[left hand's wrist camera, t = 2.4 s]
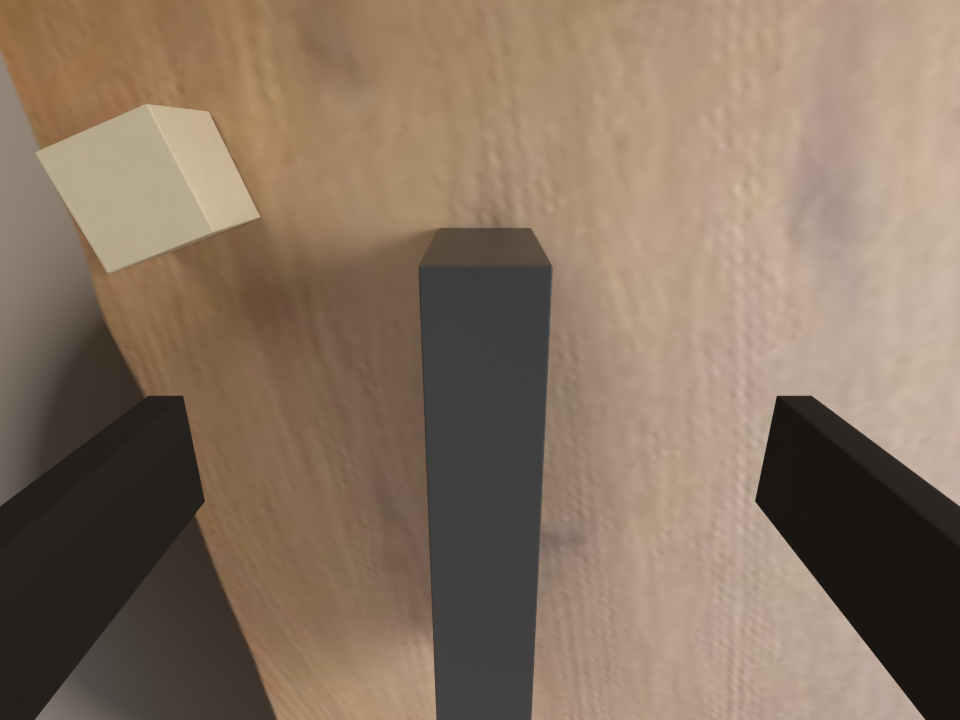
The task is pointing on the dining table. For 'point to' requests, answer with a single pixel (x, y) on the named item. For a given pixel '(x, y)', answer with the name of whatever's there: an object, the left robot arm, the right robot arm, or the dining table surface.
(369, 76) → the dining table surface
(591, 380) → the dining table surface
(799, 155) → the dining table surface
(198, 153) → the cream block
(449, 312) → the plank
